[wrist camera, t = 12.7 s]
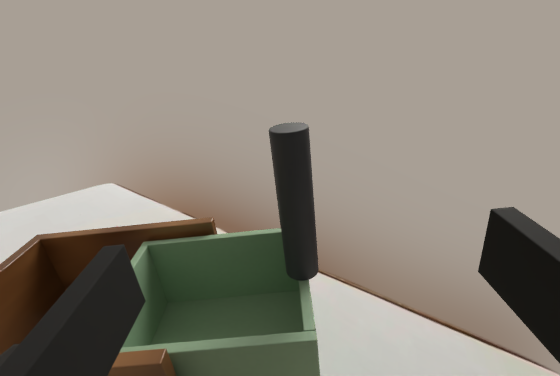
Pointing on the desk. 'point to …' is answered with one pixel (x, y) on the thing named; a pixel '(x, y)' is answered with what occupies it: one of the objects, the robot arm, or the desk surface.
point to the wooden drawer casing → (65, 269)
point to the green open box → (238, 285)
